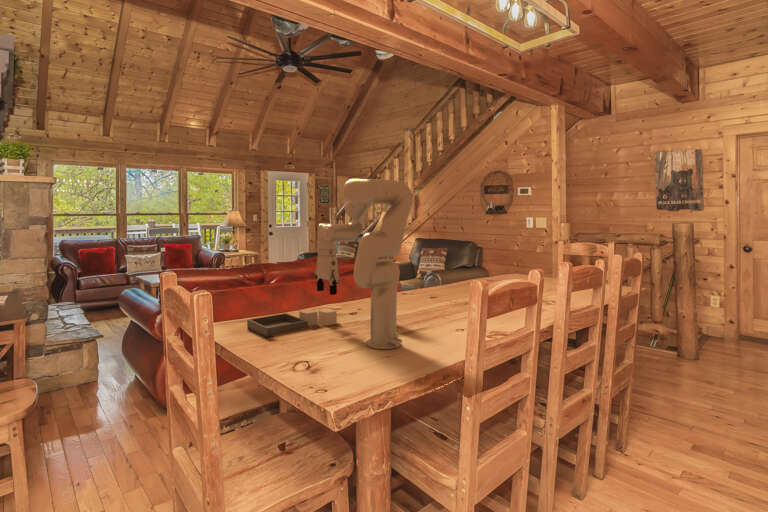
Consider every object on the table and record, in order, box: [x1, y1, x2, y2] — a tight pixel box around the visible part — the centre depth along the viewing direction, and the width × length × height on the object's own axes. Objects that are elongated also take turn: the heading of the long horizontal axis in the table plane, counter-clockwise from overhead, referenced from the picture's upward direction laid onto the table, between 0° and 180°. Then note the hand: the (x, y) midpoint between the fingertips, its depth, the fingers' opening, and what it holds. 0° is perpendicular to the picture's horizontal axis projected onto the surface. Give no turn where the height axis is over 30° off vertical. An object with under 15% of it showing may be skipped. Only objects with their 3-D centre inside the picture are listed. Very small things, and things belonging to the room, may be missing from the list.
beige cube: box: [299, 309, 319, 326], centre depth 190 cm, size 6×6×6 cm
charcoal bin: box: [246, 312, 309, 339], centre depth 185 cm, size 18×18×4 cm
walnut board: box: [307, 318, 342, 331], centre depth 192 cm, size 14×14×1 cm
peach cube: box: [318, 308, 338, 326], centre depth 192 cm, size 6×6×6 cm
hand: (326, 292), depth 191 cm, fingers open, 9 cm apart
